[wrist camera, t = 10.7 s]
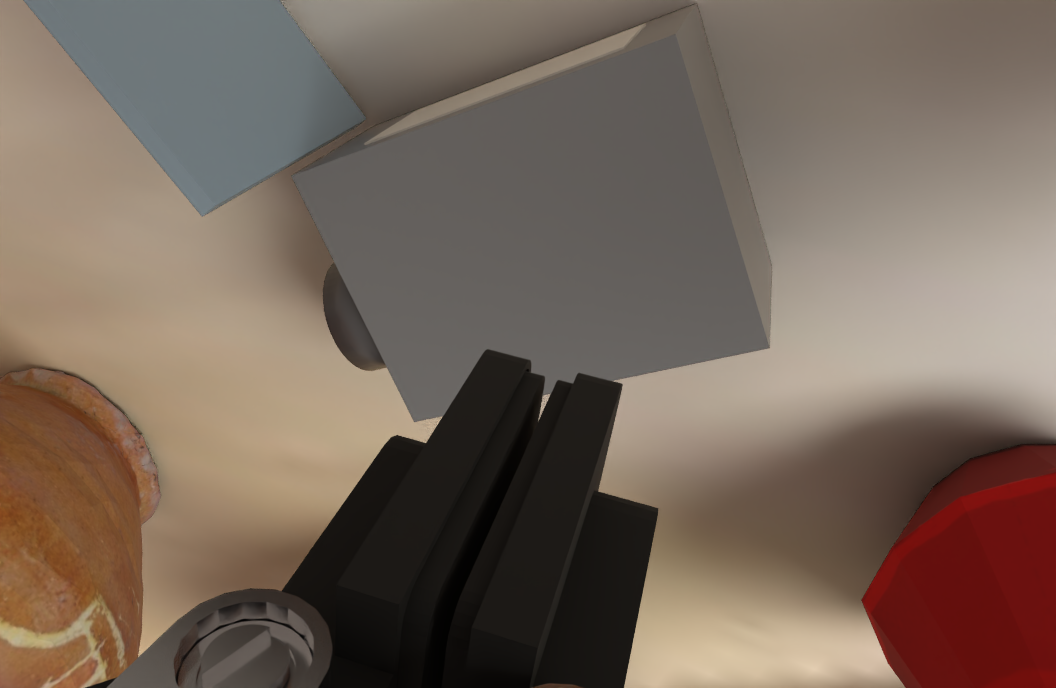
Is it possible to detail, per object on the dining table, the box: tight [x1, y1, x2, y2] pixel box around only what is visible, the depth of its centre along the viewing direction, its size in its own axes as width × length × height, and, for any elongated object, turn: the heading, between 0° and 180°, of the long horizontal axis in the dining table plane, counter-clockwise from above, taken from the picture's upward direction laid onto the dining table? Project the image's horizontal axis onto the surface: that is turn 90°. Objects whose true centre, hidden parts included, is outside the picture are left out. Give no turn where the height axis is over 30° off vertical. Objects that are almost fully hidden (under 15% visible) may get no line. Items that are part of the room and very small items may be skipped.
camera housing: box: [291, 3, 772, 422], centre depth 37 cm, size 18×12×8 cm, turn 112°
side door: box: [24, 0, 366, 217], centre depth 33 cm, size 12×2×12 cm, turn 36°
